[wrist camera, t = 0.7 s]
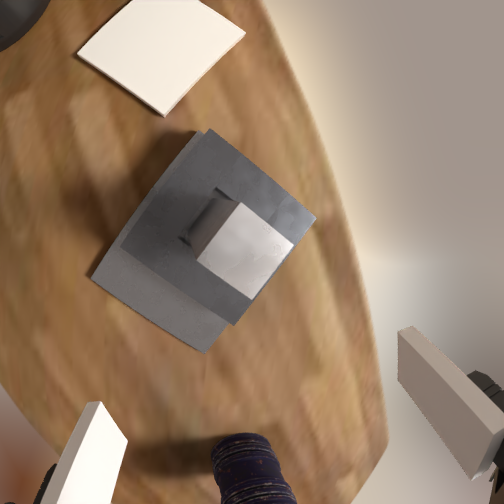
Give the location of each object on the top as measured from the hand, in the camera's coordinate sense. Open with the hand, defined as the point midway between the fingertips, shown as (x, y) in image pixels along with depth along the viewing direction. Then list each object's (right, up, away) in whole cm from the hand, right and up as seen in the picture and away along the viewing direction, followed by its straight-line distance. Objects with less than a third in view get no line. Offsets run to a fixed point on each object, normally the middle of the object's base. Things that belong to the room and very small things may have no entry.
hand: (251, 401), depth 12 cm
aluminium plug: (-4, +9, +22) cm, 24 cm away
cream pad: (-11, +30, +17) cm, 36 cm away
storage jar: (-2, -26, +30) cm, 40 cm away
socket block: (-6, +7, +23) cm, 25 cm away
